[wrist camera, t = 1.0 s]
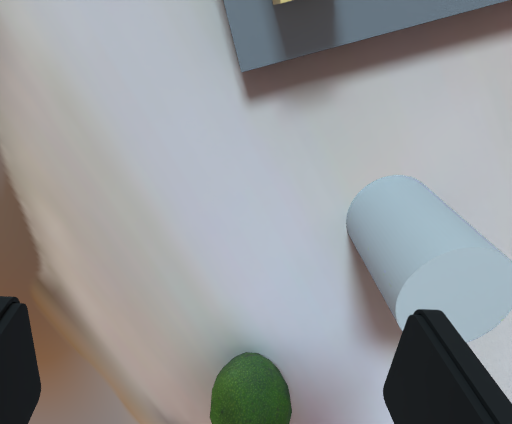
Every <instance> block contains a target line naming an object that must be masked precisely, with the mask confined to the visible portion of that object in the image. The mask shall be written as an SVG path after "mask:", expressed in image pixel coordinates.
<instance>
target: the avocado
mask: <svg viewBox="0 0 512 424" xmlns="http://www.w3.org/2000/svg"><path fill="white" fill-rule="evenodd" d="M291 414H292V409H291V402H290V395H289V389H288V386H287V384H286V382H285V380H284V378H283V376H282V375H281V373H280V371H279V370H278V369H277V367H276V366H275V365H274V364H273V363H272V362H271V361H270V360H269V359H267V358H265V357H263V356H262V355H260V354H258V353H247V352H246V353H243V354H241V355H239V356H236V357H235V358H233V359H232V360H231V361H230V362H229V363H228V364H227V365H226V366H224V367H223V369H222V370H221V371H220V373H219V374H218V375H217V378H216V381H215V384H214V386H213V389H212V398H211V411H210V419H211V422H212V424H289V422H290V418H291Z"/></svg>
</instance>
